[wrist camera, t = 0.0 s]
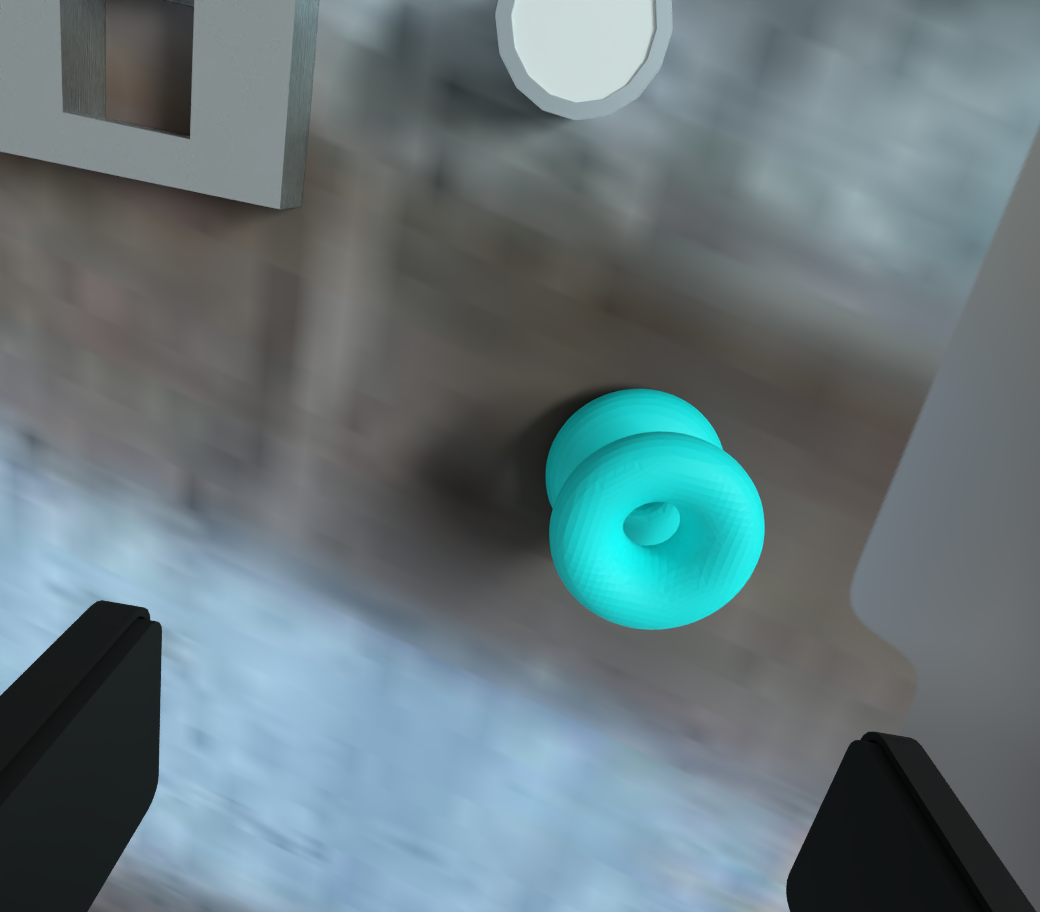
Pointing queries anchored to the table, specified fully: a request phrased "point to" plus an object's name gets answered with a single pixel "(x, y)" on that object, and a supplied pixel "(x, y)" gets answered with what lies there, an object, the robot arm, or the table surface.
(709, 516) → the donuts
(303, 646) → the table surface
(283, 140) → the block
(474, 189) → the table surface
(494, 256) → the table surface
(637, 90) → the grey cup
